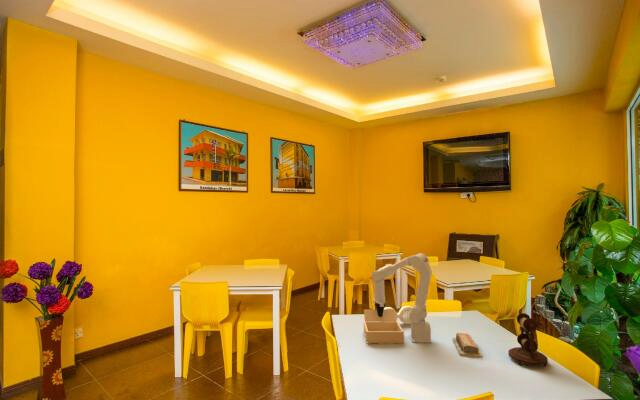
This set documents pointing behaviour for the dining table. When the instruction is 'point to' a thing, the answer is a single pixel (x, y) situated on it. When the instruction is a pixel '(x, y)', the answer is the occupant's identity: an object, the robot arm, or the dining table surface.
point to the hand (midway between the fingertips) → (380, 316)
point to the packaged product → (466, 345)
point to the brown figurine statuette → (527, 343)
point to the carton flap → (373, 317)
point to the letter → (403, 314)
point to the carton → (383, 332)
